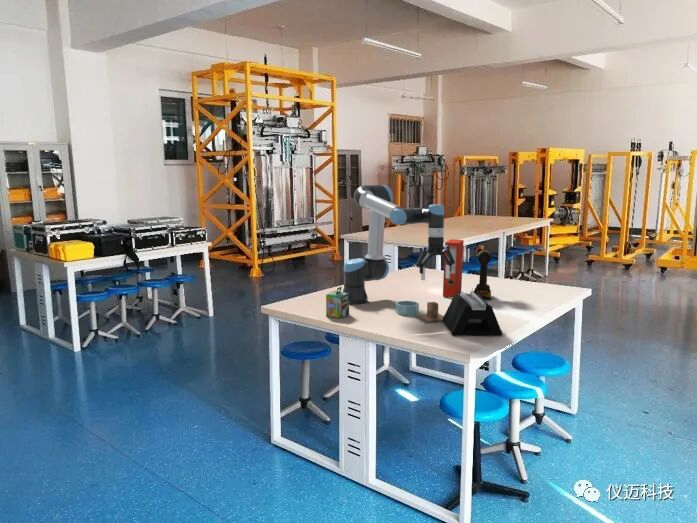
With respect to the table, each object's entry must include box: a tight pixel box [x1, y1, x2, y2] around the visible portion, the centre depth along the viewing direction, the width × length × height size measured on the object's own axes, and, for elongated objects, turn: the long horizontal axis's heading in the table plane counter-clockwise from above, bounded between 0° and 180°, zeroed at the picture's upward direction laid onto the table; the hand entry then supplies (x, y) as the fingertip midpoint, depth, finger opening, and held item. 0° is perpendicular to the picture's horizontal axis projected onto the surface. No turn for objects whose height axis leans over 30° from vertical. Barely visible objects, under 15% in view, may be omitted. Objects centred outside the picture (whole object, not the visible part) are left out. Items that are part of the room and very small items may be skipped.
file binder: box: [442, 238, 465, 298], centre depth 332 cm, size 8×17×32 cm, turn 159°
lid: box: [415, 301, 444, 324], centre depth 277 cm, size 12×12×8 cm
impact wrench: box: [472, 249, 492, 300], centre depth 328 cm, size 14×21×28 cm, turn 165°
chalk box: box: [325, 286, 350, 319], centre depth 285 cm, size 9×9×15 cm
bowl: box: [395, 300, 420, 316], centre depth 289 cm, size 11×11×6 cm
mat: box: [411, 315, 445, 325], centre depth 278 cm, size 15×15×1 cm
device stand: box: [442, 290, 503, 337], centre depth 260 cm, size 22×22×15 cm
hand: (435, 279), depth 279 cm, fingers open, 13 cm apart
